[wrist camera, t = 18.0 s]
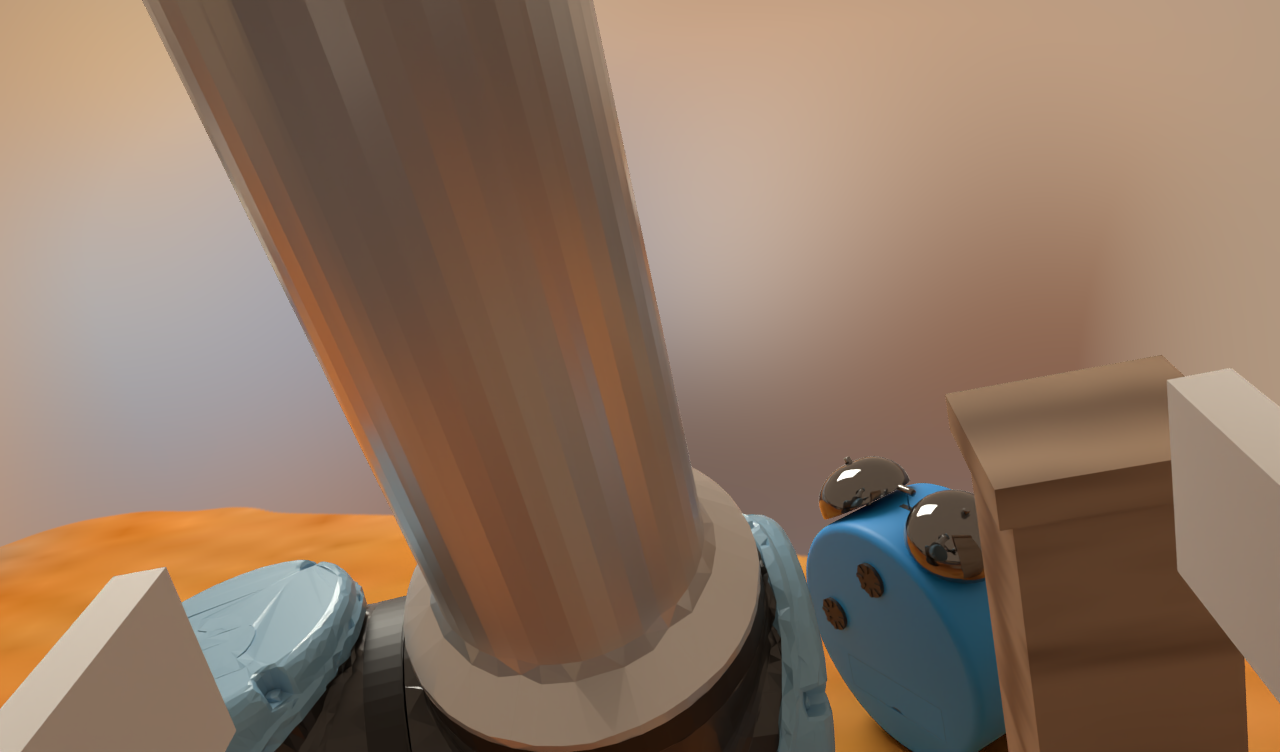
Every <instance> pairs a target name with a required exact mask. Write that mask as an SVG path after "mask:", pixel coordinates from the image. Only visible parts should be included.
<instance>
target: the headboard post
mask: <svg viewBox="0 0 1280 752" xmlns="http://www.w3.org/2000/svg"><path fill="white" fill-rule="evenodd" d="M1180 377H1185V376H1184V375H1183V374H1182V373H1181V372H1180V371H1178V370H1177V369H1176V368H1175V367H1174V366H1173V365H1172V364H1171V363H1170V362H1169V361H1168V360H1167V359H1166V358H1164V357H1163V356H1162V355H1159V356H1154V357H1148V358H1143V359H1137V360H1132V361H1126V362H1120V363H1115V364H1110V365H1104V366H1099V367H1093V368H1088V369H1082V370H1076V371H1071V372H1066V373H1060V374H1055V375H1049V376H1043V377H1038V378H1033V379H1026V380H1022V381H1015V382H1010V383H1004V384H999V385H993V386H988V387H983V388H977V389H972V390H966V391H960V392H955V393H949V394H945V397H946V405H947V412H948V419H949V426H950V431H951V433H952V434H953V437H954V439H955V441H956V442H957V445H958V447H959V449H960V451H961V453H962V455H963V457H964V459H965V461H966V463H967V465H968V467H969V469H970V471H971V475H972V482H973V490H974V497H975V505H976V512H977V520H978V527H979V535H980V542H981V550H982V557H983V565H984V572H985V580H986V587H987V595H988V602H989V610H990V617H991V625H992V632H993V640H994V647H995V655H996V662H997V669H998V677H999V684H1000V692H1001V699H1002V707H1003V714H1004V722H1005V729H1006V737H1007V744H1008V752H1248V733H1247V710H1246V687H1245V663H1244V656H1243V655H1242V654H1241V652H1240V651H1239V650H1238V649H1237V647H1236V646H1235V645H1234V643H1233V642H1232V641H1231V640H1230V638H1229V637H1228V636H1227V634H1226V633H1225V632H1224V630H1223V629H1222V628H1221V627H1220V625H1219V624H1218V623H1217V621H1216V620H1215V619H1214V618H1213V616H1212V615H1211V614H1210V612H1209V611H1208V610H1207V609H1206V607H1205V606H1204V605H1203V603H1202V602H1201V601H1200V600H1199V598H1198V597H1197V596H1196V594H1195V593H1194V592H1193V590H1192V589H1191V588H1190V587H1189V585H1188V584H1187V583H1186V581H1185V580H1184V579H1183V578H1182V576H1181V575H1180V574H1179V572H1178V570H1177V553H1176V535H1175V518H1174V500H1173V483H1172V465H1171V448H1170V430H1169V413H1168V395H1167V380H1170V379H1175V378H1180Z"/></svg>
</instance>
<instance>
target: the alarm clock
mask: <svg viewBox="0 0 1280 752" xmlns="http://www.w3.org/2000/svg"><path fill="white" fill-rule="evenodd" d="M844 460H845V462H846V464H845V465H844V466H842V467H840V468H838V469H837V470H835V471H834V472H833V473H832V474H831V475H830V476H829V477H828V478H827V480H826V481H825V483H824V484H823V486H822V488H821V491H820V495H819V508H820V511H821V513H822V516H823V518H824V519H829V518H833V517H836V516H839V515H842V514H844V513H847V512H849V511H852V510H854V509H857V508H859V507H861V506H864V505H866V506H865V507H863V508H861V509H859V510H857V511H855V512H853V513H851V514H849V515H847V516H845V517H843V518H841V519H839V520H837V521H835V522H833V523H831V524H829V525H828V526H826V527H825V528H823V529H822V530H821V531H820V532H819V533H818V534H817V536H816V537H815V538H814V540H813V542H812V545H811V547H810V550H809V553H808V558H807V569H806V571H807V585H808V589H809V592H810V595H811V599H812V603H813V606H814V610H815V615H816V619H817V623H818V627H819V631H820V635H821V637H822V640H823V642H824V644H825V647H826V649H827V651H828V653H829V655H830V657H831V659H832V661H833V662H834V664H835V666H836V668H837V670H838V671H839V673H840V675H841V676H842V678H843V680H844V681H845V683H846V684H847V686H848V687H849V689H850V690H851V692H852V693H853V694H854V696H855V697H856V698H857V700H858V701H859V702H860V704H861V705H862V706H863V707H864V709H865V710H866V711H867V712H868V713H869V714H870V716H871V717H872V718H873V719H874V720H875V721H876V722H877V723H878V724H879V725H880V726H881V727H882V728H883V729H884V730H885V731H886V732H887V733H889V734H890V735H891V736H892V737H893V738H894V739H896V740H897V741H898V742H900V743H901V744H902V745H904V746H905V747H907V748H908V749H910V750H911V751H913V752H978V751H979V750H981V749H982V748H984V747H985V746H987V745H989V744H990V743H992V742H993V741H995V740H996V739H998V738H999V737H1001V736H1002V735H1004V734H1005V733H1006V729H1005V722H1004V714H1003V707H1002V699H1001V692H1000V684H999V677H998V669H997V662H996V655H995V647H994V640H993V632H992V625H991V617H990V610H989V602H988V595H987V587H986V580H985V572H984V565H983V557H982V550H981V542H980V535H979V527H978V520H977V512H976V505H975V497H974V494H973V493H970V492H966V491H961V490H951V489H949V488H946V487H943V486H938V485H934V484H926V483H917V484H912V485H908V486H905V485H906V484H907V483H908V482H909V481H910V479H909V477H908V475H907V473H906V472H905V470H904V469H903V468H902V467H901V466H900V465H899V464H897V463H896V462H894V461H892V460H889V459H886V458H883V457H875V456H873V457H864V458H860V459H857V460H855V461H852V460H851V459H850V457H847V458H844ZM895 490H896V491H895ZM893 491H894V492H893ZM891 492H892V493H891ZM889 493H890V494H889ZM887 494H888V495H887ZM885 495H886V496H885ZM883 496H884V497H883ZM881 497H882V498H881ZM879 498H880V499H879ZM877 499H878V500H877ZM875 500H877V501H875ZM872 501H874V502H872ZM871 502H872V503H871Z"/></svg>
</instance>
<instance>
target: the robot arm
mask: <svg viewBox="0 0 1280 752" xmlns="http://www.w3.org/2000/svg"><path fill="white" fill-rule="evenodd" d="M142 1H143V3H144V5H145V7H146V9H147V11H148V13H149V15H150V17H151V19H152V21H153V23H154V25H155V27H156V30H157V32H158V33H159V36H160V38H161V40H162V42H163V44H164V46H165V48H166V50H167V52H168V54H169V56H170V58H171V60H172V62H173V64H174V66H175V68H176V70H177V73H178V74H179V76H180V79H181V81H182V83H183V85H184V87H185V89H186V91H187V93H188V95H189V97H190V99H191V101H192V103H193V105H194V107H195V109H196V111H197V113H198V115H199V118H200V120H201V121H202V124H203V125H204V128H205V130H206V132H207V134H208V136H209V138H210V140H211V142H212V144H213V146H214V148H215V150H216V152H217V154H218V156H219V158H220V160H221V162H222V165H223V167H224V169H225V170H226V173H227V175H228V177H229V179H230V181H231V183H232V185H233V187H234V189H235V191H236V193H237V195H238V197H239V199H240V201H241V203H242V205H243V207H244V210H245V211H246V213H247V216H248V217H249V220H250V222H251V224H252V226H253V228H254V230H255V232H256V234H257V236H258V238H259V240H260V242H261V244H262V246H263V248H264V250H265V252H266V255H267V257H268V259H269V261H270V263H271V264H272V267H273V269H274V271H275V273H276V275H277V277H278V279H279V281H280V283H281V285H282V287H283V289H284V291H285V293H286V296H287V298H288V300H289V302H290V304H291V306H292V308H293V310H294V312H295V314H296V316H297V318H298V320H299V322H300V324H301V326H302V328H303V330H304V332H305V334H306V336H307V339H308V341H309V343H310V344H311V347H312V349H313V351H314V353H315V355H316V357H317V359H318V361H319V363H320V365H321V367H322V369H323V371H324V373H325V375H326V377H327V379H328V381H329V384H330V386H331V388H332V390H333V392H334V394H335V396H336V398H337V400H338V402H339V404H340V406H341V408H342V410H343V412H344V414H345V416H346V418H347V420H348V422H349V424H350V426H351V429H352V430H353V433H354V435H355V437H356V438H357V441H358V443H359V445H360V447H361V449H362V451H363V453H364V455H365V457H366V459H367V461H368V463H369V465H370V467H371V469H372V471H373V473H374V476H375V478H376V480H377V482H378V483H379V486H380V488H381V490H382V492H383V494H384V496H385V498H386V500H387V502H388V504H389V506H390V508H391V510H392V512H393V514H394V517H395V519H396V521H397V523H398V525H399V527H400V529H401V531H402V533H403V535H404V537H405V539H406V541H407V543H408V545H409V547H410V549H411V551H412V553H413V555H414V557H415V559H416V562H417V566H416V568H415V570H414V572H413V575H412V578H411V582H410V585H409V588H408V593H407V596H403V597H399V598H395V599H391V600H386V601H382V602H378V603H374V604H367V602H366V599H365V596H364V593H363V589H362V587H361V586H360V585H358V583H357V582H355V581H354V580H353V579H352V578H351V577H350V575H349V574H348V573H347V572H346V571H345V570H343V569H342V568H340V567H339V566H337V565H335V564H332V563H328V562H320V563H318V564H316V563H315V562H312V561H309V560H296V561H289V562H283V563H279V564H274V565H270V566H266V567H262V568H259V569H256V570H253V571H250V572H247V573H245V574H242V575H239V576H237V577H234V578H232V579H229V580H227V581H224V582H222V583H220V584H217V585H215V586H213V587H211V588H209V589H207V590H205V591H203V592H201V593H199V594H197V595H195V596H193V597H191V598H189V599H187V600H185V601H184V602H182V603H181V601H180V598H179V596H178V594H177V591H176V589H175V587H174V584H173V582H172V580H171V577H170V575H169V573H168V570H167V568H166V567H162V568H157V569H152V570H146V571H141V572H136V573H130V574H125V575H120V576H114V577H112V579H111V580H110V581H109V582H108V583H107V584H106V586H105V587H104V588H103V589H102V590H101V591H100V593H99V594H98V595H97V596H96V597H95V598H94V600H93V601H92V602H91V603H90V604H89V606H88V607H87V608H86V609H85V610H84V611H83V613H82V614H81V615H80V616H79V617H78V618H77V620H76V621H75V622H74V623H73V624H72V625H71V627H70V628H69V629H68V630H67V631H66V632H65V634H64V635H63V636H62V637H61V638H60V639H59V641H58V642H57V643H56V644H55V645H54V647H53V648H52V649H51V650H50V651H49V652H48V654H47V655H46V656H45V657H44V658H43V659H42V661H41V662H40V663H39V664H38V665H37V666H36V668H35V669H34V670H33V671H32V672H31V673H30V675H29V676H28V677H27V678H26V679H25V680H24V682H23V683H22V684H21V685H20V686H19V688H18V689H17V690H16V691H15V692H14V693H13V695H12V696H11V697H10V698H9V699H8V700H7V702H6V703H5V704H4V705H3V706H2V707H1V709H0V752H835V737H834V724H833V716H832V710H831V707H830V703H829V700H828V697H827V695H826V693H825V688H826V681H827V674H826V664H825V657H824V651H823V646H822V641H821V636H820V631H819V627H818V623H817V619H816V615H815V610H814V606H813V603H812V599H811V595H810V592H809V589H808V585H807V582H806V579H805V576H804V573H803V571H802V568H801V565H800V563H799V561H798V558H797V555H796V552H795V550H794V548H793V546H792V543H791V542H790V540H789V538H788V536H787V535H786V533H785V531H784V530H783V528H782V527H781V526H780V525H779V524H778V523H777V522H775V521H774V520H773V519H771V518H769V517H766V516H764V515H754V514H751V515H745V514H742V512H741V511H740V509H739V508H738V506H737V505H736V503H735V502H734V501H733V499H732V498H731V496H730V495H729V494H728V493H727V492H725V491H724V490H723V489H722V488H721V487H720V486H719V485H718V484H717V483H716V482H715V481H713V480H711V479H710V478H709V477H707V476H706V475H704V474H703V473H701V472H700V471H698V470H696V469H694V468H692V467H691V462H690V458H689V453H688V449H687V444H686V439H685V434H684V429H683V425H682V420H681V415H680V410H679V406H678V401H677V396H676V392H675V387H674V382H673V377H672V373H671V368H670V363H669V359H668V354H667V349H666V344H665V340H664V335H663V330H662V325H661V321H660V316H659V311H658V306H657V302H656V297H655V292H654V287H653V283H652V278H651V273H650V269H649V264H648V259H647V255H646V250H645V245H644V240H643V236H642V231H641V226H640V221H639V217H638V212H637V207H636V202H635V198H634V193H633V188H632V184H631V179H630V174H629V169H628V165H627V160H626V155H625V150H624V145H623V141H622V136H621V131H620V127H619V122H618V118H617V112H616V108H615V103H614V98H613V93H612V89H611V84H610V79H609V75H608V70H607V65H606V60H605V56H604V51H603V47H602V41H601V37H600V32H599V27H598V22H597V18H596V13H595V8H594V4H593V0H142ZM1167 395H1168V413H1169V430H1170V448H1171V465H1172V483H1173V500H1174V518H1175V535H1176V553H1177V570H1178V572H1179V574H1180V575H1181V576H1182V578H1183V579H1184V580H1185V581H1186V583H1187V584H1188V585H1189V587H1190V588H1191V589H1192V590H1193V592H1194V593H1195V594H1196V596H1197V597H1198V598H1199V600H1200V601H1201V602H1202V603H1203V605H1204V606H1205V607H1206V609H1207V610H1208V611H1209V612H1210V614H1211V615H1212V616H1213V618H1214V619H1215V620H1216V621H1217V623H1218V624H1219V625H1220V627H1221V628H1222V629H1223V630H1224V632H1225V633H1226V634H1227V636H1228V637H1229V638H1230V640H1231V641H1232V642H1233V643H1234V645H1235V646H1236V647H1237V649H1238V650H1239V651H1240V652H1241V654H1242V655H1243V656H1244V658H1245V659H1246V660H1247V661H1248V663H1249V664H1250V665H1251V667H1252V668H1253V669H1254V671H1255V672H1256V673H1257V674H1258V676H1259V677H1260V678H1261V680H1262V681H1263V682H1264V683H1265V685H1266V686H1267V687H1268V689H1269V690H1270V691H1271V692H1272V694H1273V695H1274V696H1275V698H1276V699H1277V700H1278V701H1279V703H1280V407H1279V406H1278V405H1277V404H1275V403H1274V402H1273V401H1272V400H1270V399H1269V398H1268V397H1267V396H1265V395H1264V394H1263V393H1262V392H1260V391H1259V390H1258V389H1257V388H1255V387H1254V386H1253V385H1252V384H1251V383H1249V382H1248V381H1247V380H1246V379H1244V378H1243V377H1242V376H1241V375H1239V374H1238V373H1237V372H1235V371H1234V370H1233V369H1232V368H1228V369H1223V370H1218V371H1213V372H1207V373H1202V374H1197V375H1191V376H1186V377H1180V378H1175V379H1170V380H1167Z"/></svg>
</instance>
